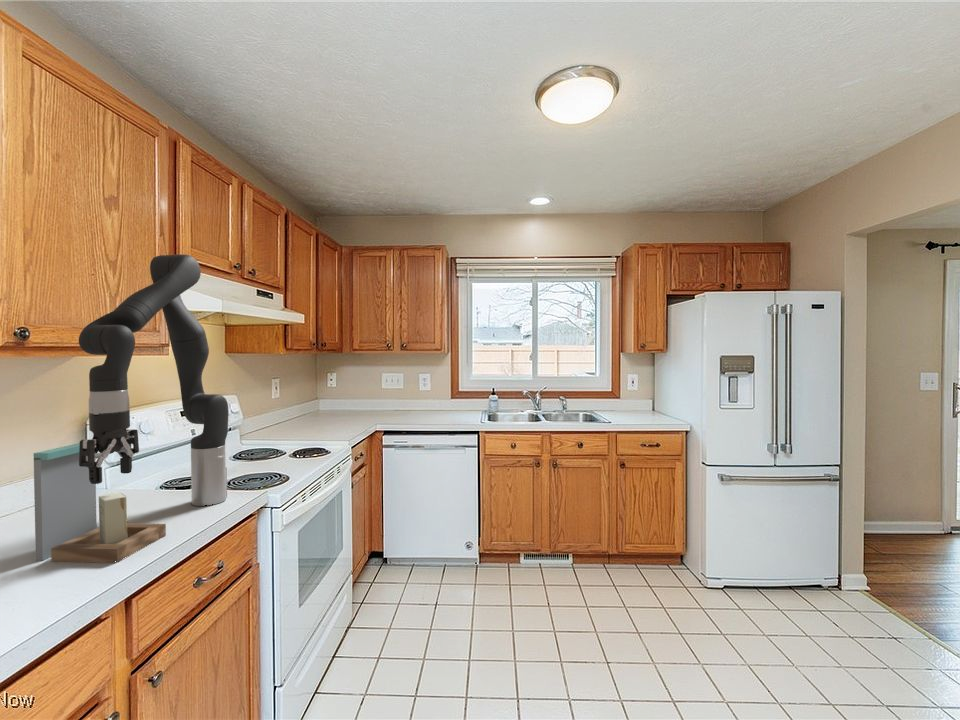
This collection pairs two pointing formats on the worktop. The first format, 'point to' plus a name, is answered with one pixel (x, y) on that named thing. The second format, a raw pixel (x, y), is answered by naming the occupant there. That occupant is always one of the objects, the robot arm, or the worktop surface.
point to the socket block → (107, 545)
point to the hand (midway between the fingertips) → (111, 478)
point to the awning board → (61, 498)
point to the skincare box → (112, 518)
